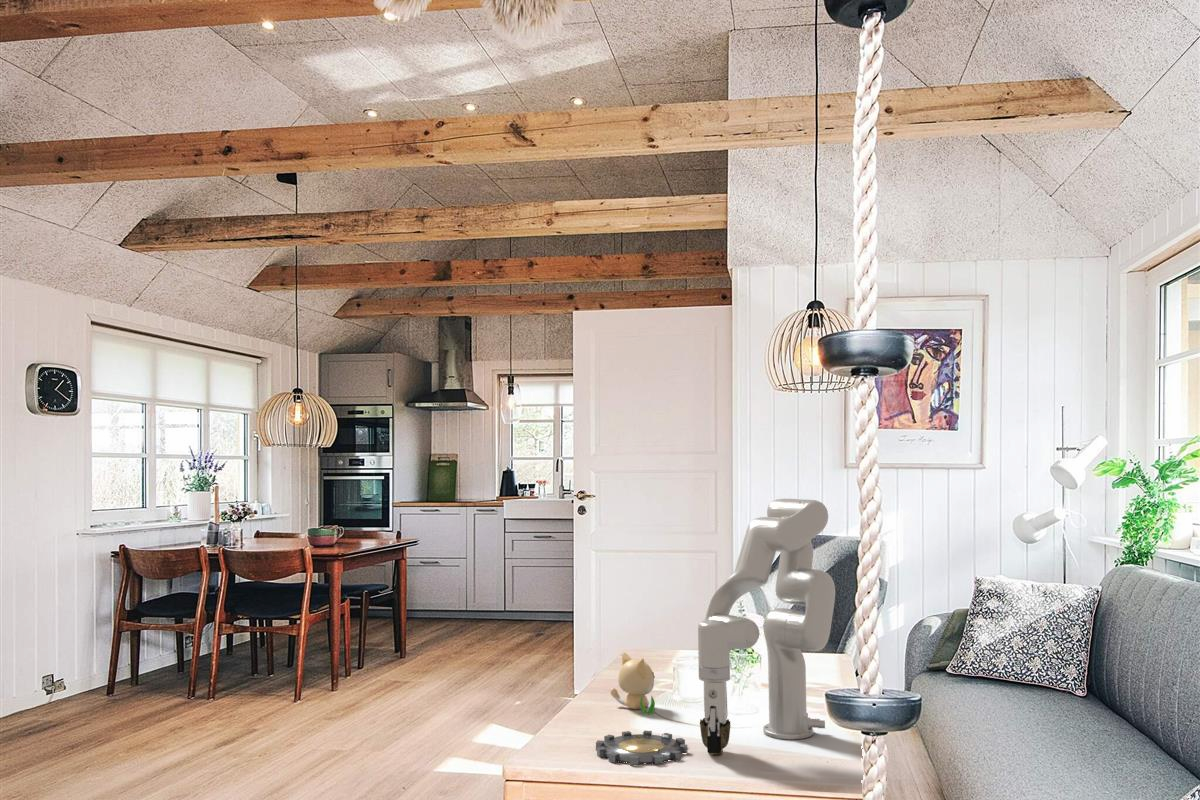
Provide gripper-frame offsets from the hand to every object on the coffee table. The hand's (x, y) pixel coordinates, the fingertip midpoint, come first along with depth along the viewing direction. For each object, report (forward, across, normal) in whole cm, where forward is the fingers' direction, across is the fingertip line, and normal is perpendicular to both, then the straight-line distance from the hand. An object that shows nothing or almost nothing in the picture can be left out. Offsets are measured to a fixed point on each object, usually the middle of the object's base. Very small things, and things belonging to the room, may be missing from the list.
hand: (715, 747), depth 234 cm
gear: (+2, 0, +18) cm, 18 cm away
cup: (+2, 0, 0) cm, 2 cm away
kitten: (+2, +39, +25) cm, 46 cm away
